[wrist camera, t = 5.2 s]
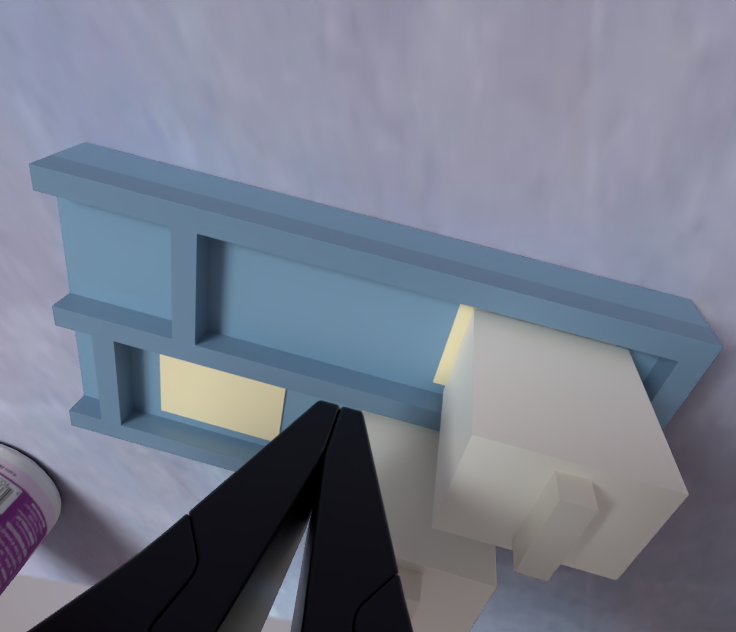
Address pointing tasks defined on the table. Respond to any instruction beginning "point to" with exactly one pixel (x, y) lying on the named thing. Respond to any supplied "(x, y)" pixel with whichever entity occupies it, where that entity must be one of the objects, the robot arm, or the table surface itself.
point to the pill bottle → (23, 511)
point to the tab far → (427, 532)
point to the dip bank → (300, 308)
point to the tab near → (551, 450)
